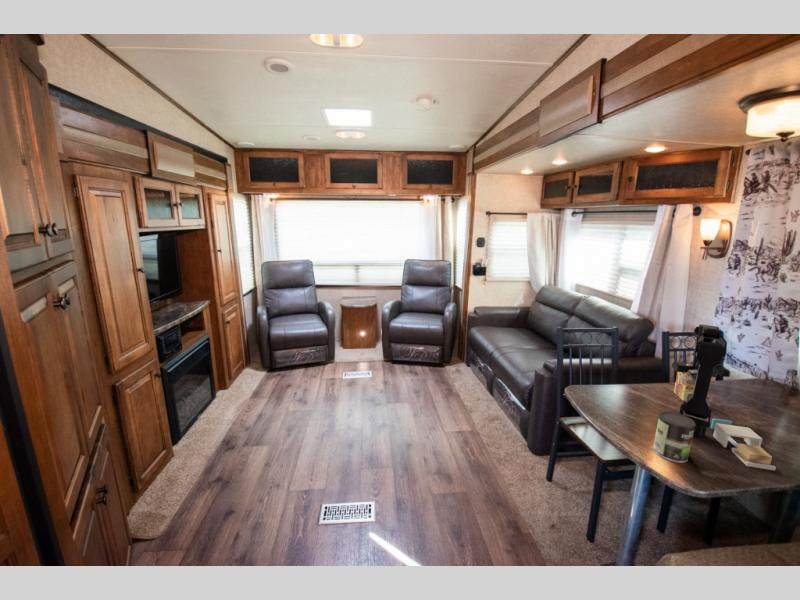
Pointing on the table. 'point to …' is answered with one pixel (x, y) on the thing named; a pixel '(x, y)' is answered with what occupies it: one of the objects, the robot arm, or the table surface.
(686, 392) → the candy box
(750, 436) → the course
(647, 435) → the table surface
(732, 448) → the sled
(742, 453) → the block
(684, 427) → the coffee can
